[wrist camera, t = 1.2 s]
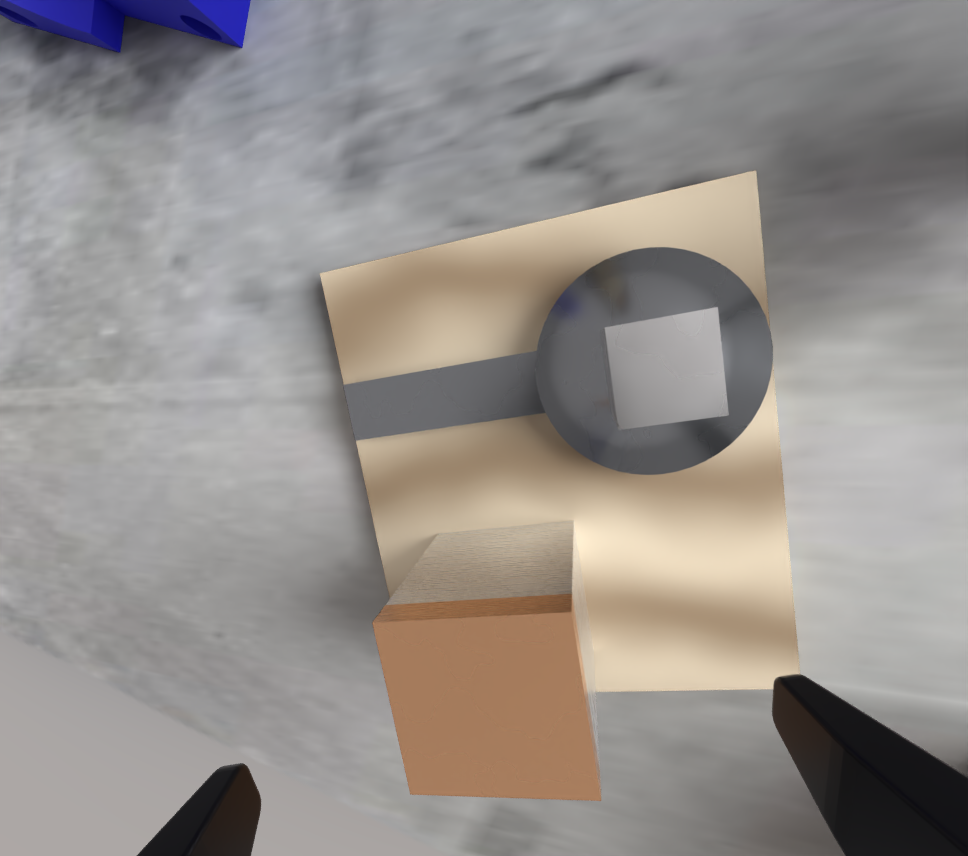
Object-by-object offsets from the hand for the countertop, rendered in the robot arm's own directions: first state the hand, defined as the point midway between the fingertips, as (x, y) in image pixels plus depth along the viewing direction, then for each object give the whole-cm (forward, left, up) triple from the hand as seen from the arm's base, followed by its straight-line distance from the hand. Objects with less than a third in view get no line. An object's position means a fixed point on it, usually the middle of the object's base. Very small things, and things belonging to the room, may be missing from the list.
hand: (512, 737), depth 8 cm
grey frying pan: (+5, 0, -12) cm, 13 cm away
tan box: (-4, +2, -12) cm, 13 cm away
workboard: (+1, 0, -13) cm, 13 cm away
